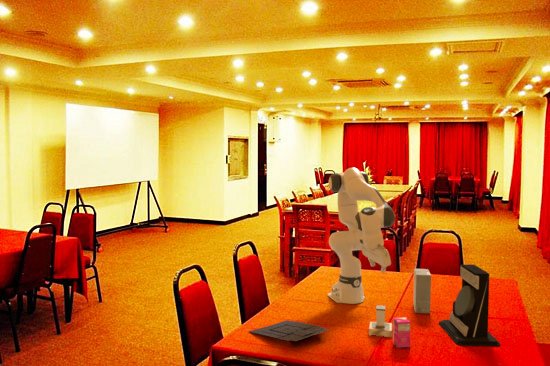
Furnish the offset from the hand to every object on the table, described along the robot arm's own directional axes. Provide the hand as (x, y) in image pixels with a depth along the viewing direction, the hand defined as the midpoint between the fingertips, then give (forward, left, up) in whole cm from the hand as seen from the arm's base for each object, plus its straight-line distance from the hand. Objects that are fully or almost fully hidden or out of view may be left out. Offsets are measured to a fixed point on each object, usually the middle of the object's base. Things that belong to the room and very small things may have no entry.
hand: (378, 269), depth 236 cm
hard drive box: (-11, +37, -28) cm, 48 cm away
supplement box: (+25, -6, -28) cm, 37 cm away
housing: (+7, -4, -24) cm, 26 cm away
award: (+26, +31, -28) cm, 49 cm away
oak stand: (+8, -4, -27) cm, 29 cm away
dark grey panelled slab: (-8, -43, -28) cm, 52 cm away
